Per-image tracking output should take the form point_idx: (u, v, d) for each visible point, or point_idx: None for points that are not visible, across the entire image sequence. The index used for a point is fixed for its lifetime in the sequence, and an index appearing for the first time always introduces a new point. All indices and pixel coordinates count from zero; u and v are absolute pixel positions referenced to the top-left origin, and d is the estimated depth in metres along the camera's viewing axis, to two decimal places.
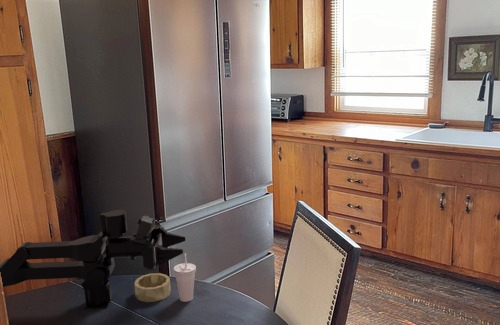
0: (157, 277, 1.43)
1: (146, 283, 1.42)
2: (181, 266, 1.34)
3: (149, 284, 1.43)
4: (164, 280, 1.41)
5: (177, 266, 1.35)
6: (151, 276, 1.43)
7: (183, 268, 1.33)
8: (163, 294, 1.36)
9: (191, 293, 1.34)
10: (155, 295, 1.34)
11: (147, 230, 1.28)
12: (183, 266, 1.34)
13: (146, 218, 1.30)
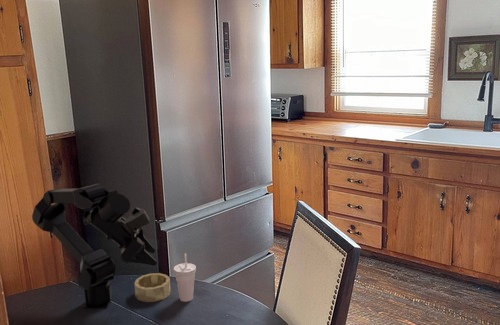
0: (157, 277, 1.43)
1: (146, 283, 1.42)
2: (181, 266, 1.34)
3: (149, 284, 1.43)
4: (164, 280, 1.41)
5: (177, 266, 1.35)
6: (151, 276, 1.43)
7: (183, 268, 1.33)
8: (163, 294, 1.36)
9: (191, 293, 1.34)
10: (155, 295, 1.34)
11: (141, 225, 1.26)
12: (183, 266, 1.34)
13: (146, 214, 1.29)
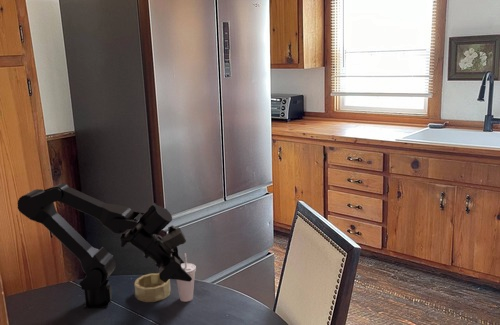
0: (157, 277, 1.43)
1: (146, 283, 1.42)
2: (181, 266, 1.34)
3: (149, 284, 1.43)
4: None
5: None
6: (151, 276, 1.43)
7: (183, 268, 1.33)
8: (163, 294, 1.36)
9: (191, 293, 1.34)
10: (155, 295, 1.34)
11: (178, 244, 1.30)
12: (183, 266, 1.34)
13: (182, 233, 1.32)
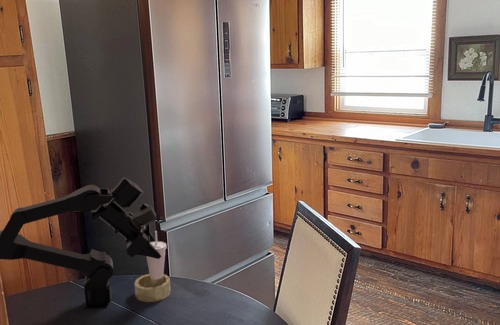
0: None
1: (146, 283, 1.42)
2: (152, 244, 1.35)
3: (149, 284, 1.43)
4: (164, 280, 1.41)
5: None
6: None
7: (153, 245, 1.34)
8: (163, 294, 1.36)
9: (161, 271, 1.35)
10: (155, 295, 1.34)
11: (148, 221, 1.31)
12: (154, 244, 1.35)
13: (153, 210, 1.33)
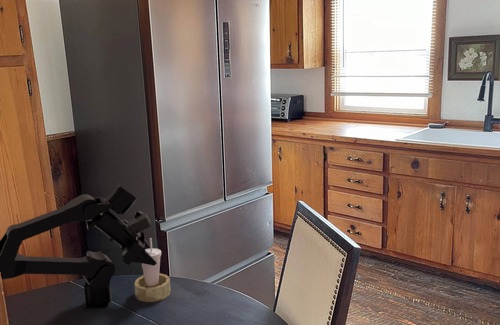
0: None
1: None
2: (147, 251, 1.37)
3: None
4: (164, 280, 1.41)
5: None
6: None
7: (148, 252, 1.36)
8: (163, 294, 1.36)
9: (156, 278, 1.37)
10: (155, 295, 1.34)
11: (143, 228, 1.32)
12: (149, 251, 1.37)
13: None
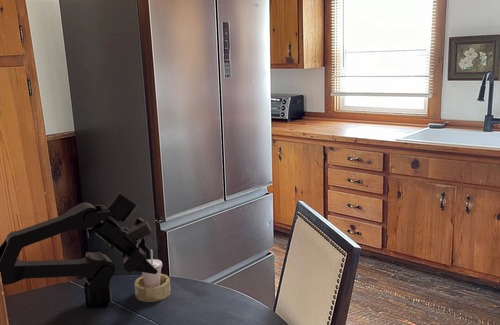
0: None
1: None
2: None
3: None
4: (164, 280, 1.41)
5: None
6: None
7: None
8: (163, 294, 1.36)
9: None
10: (155, 295, 1.34)
11: (143, 235, 1.33)
12: None
13: (148, 224, 1.35)
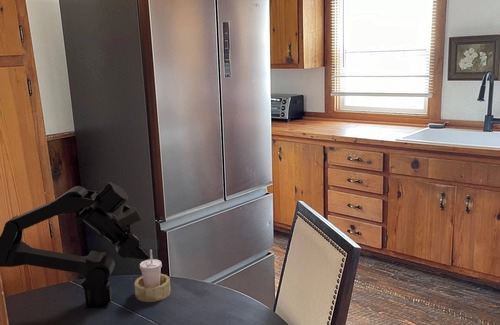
0: None
1: None
2: (147, 262, 1.37)
3: None
4: (164, 280, 1.41)
5: (143, 262, 1.38)
6: None
7: (149, 264, 1.36)
8: (163, 294, 1.36)
9: None
10: (155, 295, 1.34)
11: (134, 221, 1.32)
12: (149, 262, 1.37)
13: None
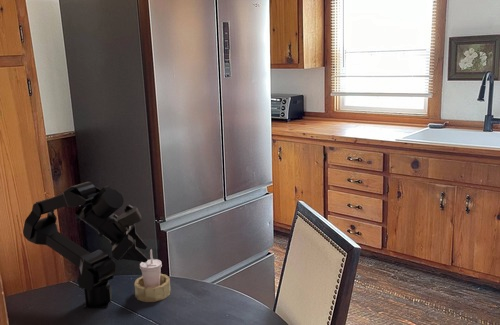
0: None
1: None
2: (147, 262, 1.38)
3: None
4: (164, 280, 1.41)
5: (143, 262, 1.38)
6: None
7: (149, 264, 1.36)
8: (163, 294, 1.36)
9: None
10: (155, 295, 1.34)
11: (133, 222, 1.28)
12: (149, 262, 1.37)
13: (138, 211, 1.31)
